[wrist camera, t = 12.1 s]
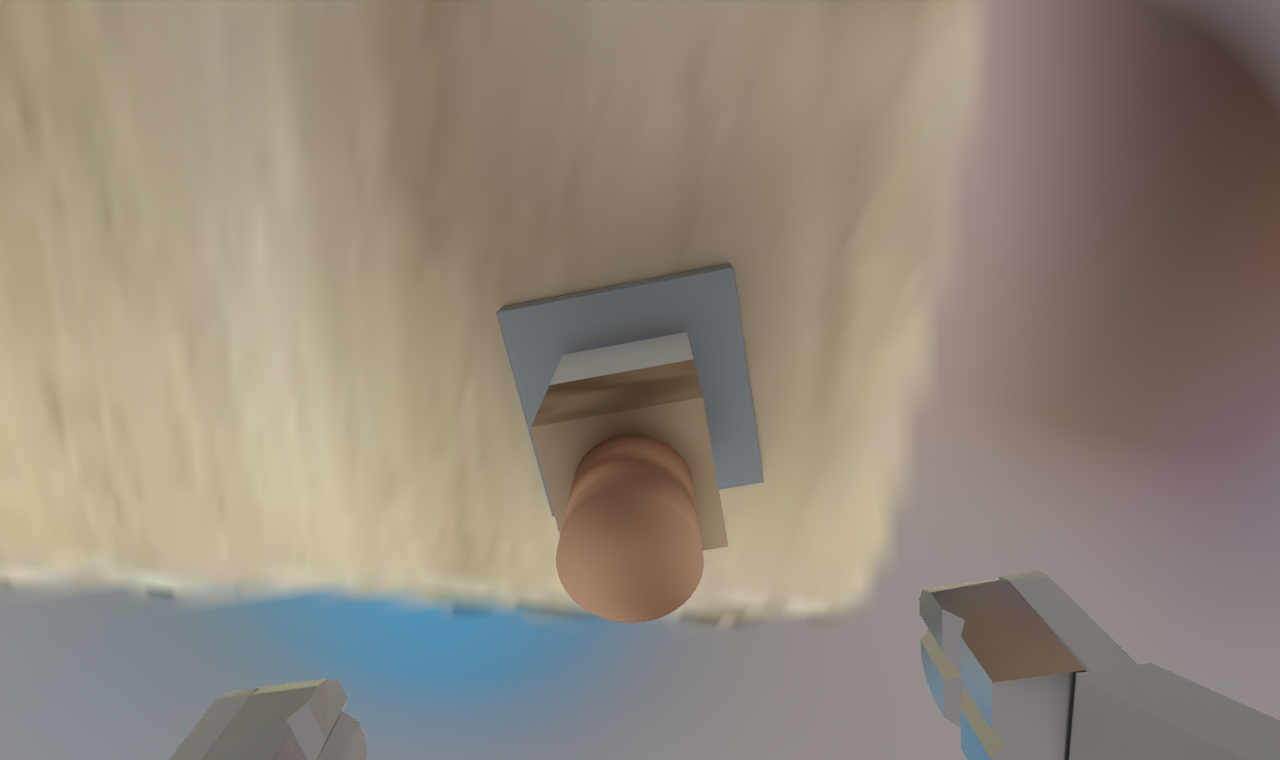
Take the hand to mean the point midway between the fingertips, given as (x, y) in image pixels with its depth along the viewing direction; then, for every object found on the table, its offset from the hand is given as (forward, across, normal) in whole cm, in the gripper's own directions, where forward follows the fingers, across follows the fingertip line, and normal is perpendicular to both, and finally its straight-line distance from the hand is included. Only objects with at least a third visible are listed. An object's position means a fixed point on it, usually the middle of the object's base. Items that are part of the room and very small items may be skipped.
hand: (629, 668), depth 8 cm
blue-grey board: (+27, +1, +6) cm, 28 cm away
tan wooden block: (+21, +1, +6) cm, 22 cm away
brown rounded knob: (+16, +1, +6) cm, 17 cm away
